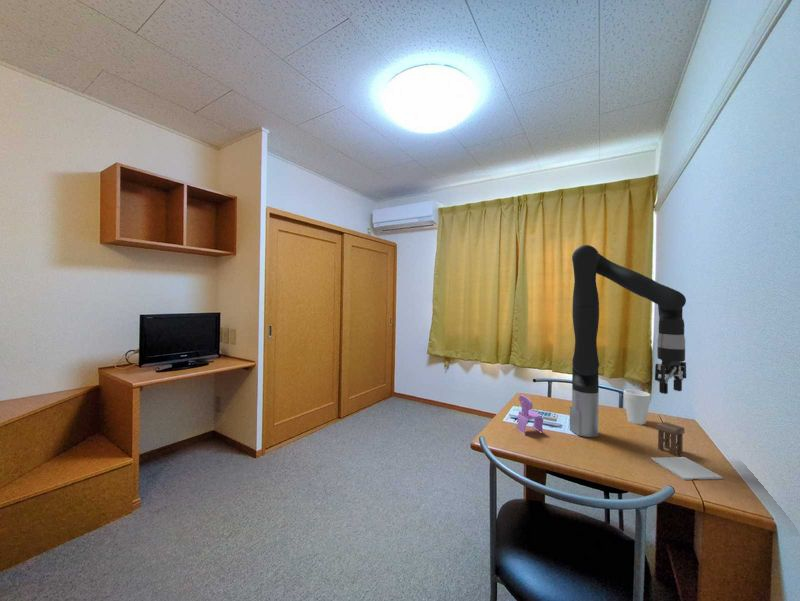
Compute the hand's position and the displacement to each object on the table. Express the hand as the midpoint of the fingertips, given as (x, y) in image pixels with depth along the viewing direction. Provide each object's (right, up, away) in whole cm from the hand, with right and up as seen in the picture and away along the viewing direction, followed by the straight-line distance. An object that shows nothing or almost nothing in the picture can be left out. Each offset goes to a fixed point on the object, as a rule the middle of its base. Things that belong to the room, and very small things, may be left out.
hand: (670, 391), depth 113 cm
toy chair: (-44, -21, +16) cm, 51 cm away
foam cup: (+8, -21, +27) cm, 35 cm away
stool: (0, -21, 0) cm, 21 cm away
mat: (-5, -21, -12) cm, 25 cm away
